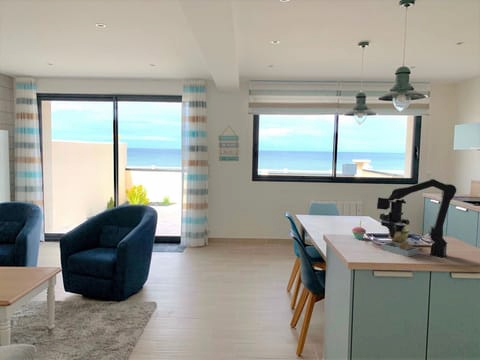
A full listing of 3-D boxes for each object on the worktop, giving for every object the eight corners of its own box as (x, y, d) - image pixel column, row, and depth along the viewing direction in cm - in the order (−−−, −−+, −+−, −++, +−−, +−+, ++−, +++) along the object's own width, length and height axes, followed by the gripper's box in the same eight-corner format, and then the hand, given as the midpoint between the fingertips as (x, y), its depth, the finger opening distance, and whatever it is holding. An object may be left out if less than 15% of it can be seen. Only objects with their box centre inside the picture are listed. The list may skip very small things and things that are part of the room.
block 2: (411, 252, 184) (412, 244, 184) (406, 253, 182) (407, 245, 182) (403, 250, 188) (404, 242, 188) (399, 251, 186) (399, 243, 185)
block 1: (400, 239, 190) (400, 231, 189) (395, 240, 187) (396, 232, 187) (393, 237, 194) (393, 230, 193) (388, 238, 191) (388, 231, 191)
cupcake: (354, 235, 222) (355, 218, 222) (367, 238, 217) (368, 220, 216) (349, 238, 216) (350, 219, 215) (362, 240, 210) (363, 221, 210)
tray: (418, 253, 184) (419, 248, 184) (407, 256, 178) (407, 251, 178) (392, 246, 198) (392, 241, 197) (380, 249, 192) (381, 243, 192)
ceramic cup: (411, 248, 196) (412, 231, 195) (393, 247, 196) (395, 230, 195) (400, 242, 209) (401, 226, 208) (384, 241, 209) (385, 226, 208)
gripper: (392, 207, 201) (391, 232, 202) (373, 209, 191) (372, 236, 192) (410, 210, 192) (409, 236, 193) (391, 212, 182) (389, 240, 183)
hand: (394, 237), depth 190 cm, fingers closed on block 1, 4 cm apart
